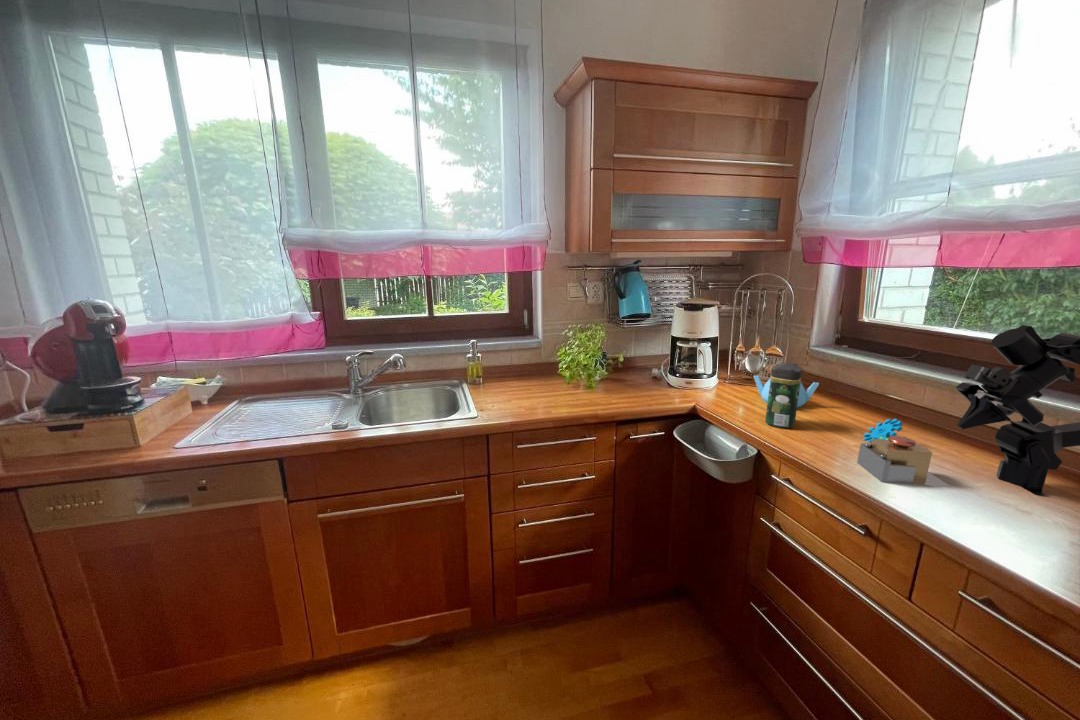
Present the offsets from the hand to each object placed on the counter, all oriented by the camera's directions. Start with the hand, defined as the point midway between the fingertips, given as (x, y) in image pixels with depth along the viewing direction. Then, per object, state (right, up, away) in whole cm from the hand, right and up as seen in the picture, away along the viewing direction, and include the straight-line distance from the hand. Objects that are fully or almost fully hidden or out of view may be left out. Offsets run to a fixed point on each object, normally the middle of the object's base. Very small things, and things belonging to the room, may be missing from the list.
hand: (959, 427), depth 100 cm
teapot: (-9, 0, +56) cm, 57 cm away
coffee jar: (-21, -5, +37) cm, 42 cm away
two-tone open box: (-11, -12, +3) cm, 16 cm away
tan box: (-12, -11, +3) cm, 17 cm away
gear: (-1, -8, +22) cm, 23 cm away
